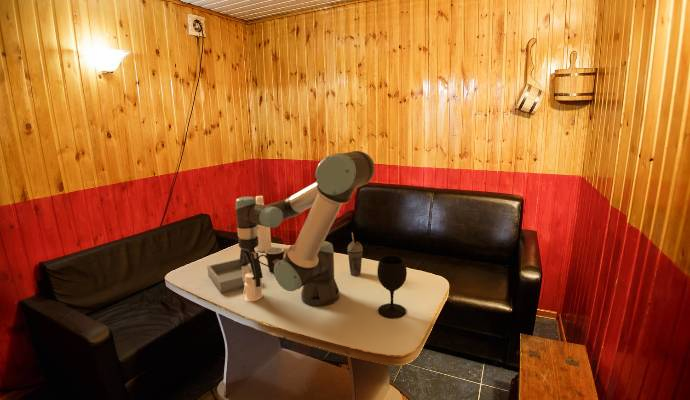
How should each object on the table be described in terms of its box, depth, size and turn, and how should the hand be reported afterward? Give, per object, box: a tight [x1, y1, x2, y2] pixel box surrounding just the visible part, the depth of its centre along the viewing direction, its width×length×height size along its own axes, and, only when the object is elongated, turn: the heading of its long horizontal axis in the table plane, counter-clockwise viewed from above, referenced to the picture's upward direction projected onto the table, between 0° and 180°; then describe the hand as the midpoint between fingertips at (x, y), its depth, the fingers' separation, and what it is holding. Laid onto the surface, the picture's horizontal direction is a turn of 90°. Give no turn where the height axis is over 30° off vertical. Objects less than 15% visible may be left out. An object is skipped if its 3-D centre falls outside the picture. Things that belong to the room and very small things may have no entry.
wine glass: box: [376, 255, 408, 319], centre depth 133 cm, size 10×10×20 cm
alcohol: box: [254, 195, 272, 253], centre depth 201 cm, size 9×9×30 cm
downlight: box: [242, 272, 264, 302], centre depth 148 cm, size 8×7×10 cm
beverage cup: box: [346, 232, 364, 277], centre depth 166 cm, size 7×7×20 cm
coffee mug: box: [258, 247, 285, 274], centre depth 174 cm, size 12×9×10 cm
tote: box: [206, 258, 252, 295], centre depth 165 cm, size 22×16×5 cm
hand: (251, 286), depth 148 cm, fingers open, 13 cm apart
